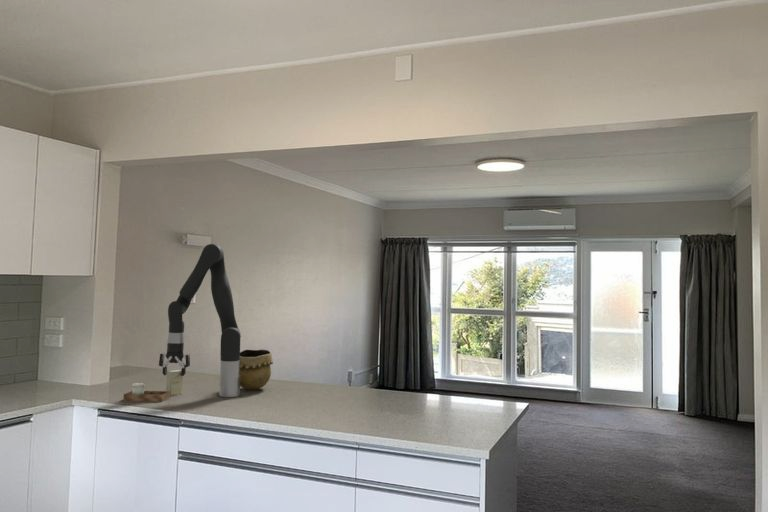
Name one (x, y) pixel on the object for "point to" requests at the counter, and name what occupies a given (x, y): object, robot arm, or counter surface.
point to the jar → (138, 388)
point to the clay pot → (255, 368)
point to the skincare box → (174, 382)
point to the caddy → (148, 396)
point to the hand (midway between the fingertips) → (173, 375)
